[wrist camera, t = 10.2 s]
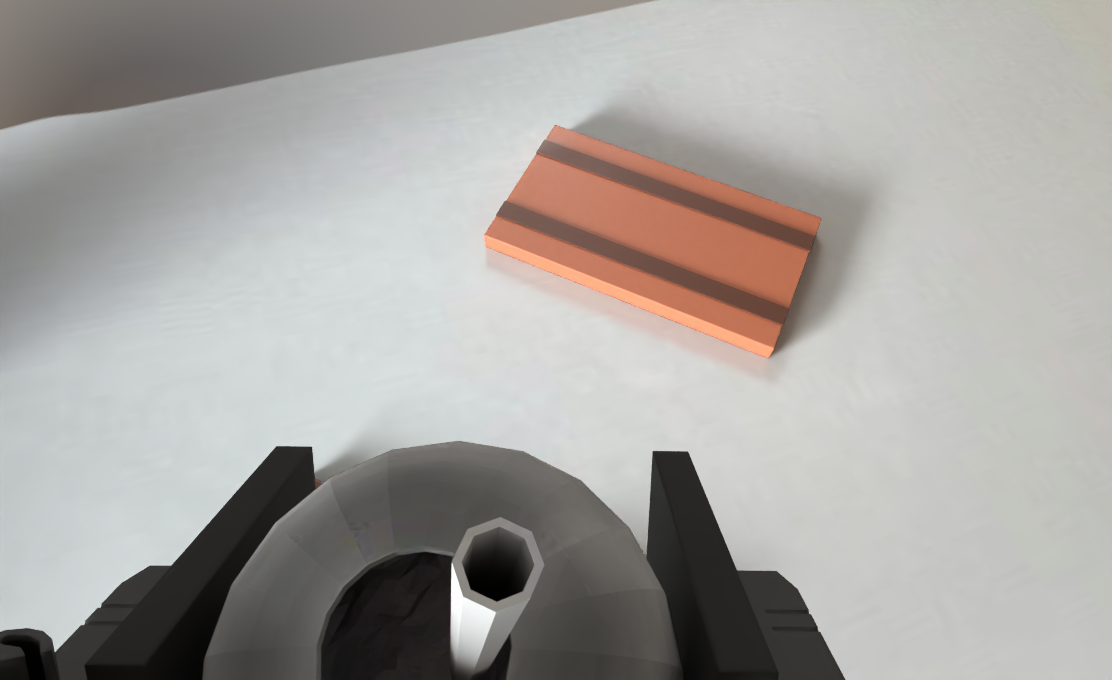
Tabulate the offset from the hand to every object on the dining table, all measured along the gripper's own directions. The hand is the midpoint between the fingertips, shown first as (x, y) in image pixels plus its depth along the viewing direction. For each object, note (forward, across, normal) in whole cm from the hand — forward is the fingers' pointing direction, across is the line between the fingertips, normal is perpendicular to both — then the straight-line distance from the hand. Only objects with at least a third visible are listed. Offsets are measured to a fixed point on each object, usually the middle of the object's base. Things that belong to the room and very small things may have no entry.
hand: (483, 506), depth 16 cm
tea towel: (+30, +8, +2) cm, 31 cm away
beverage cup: (+4, 0, -9) cm, 9 cm away
